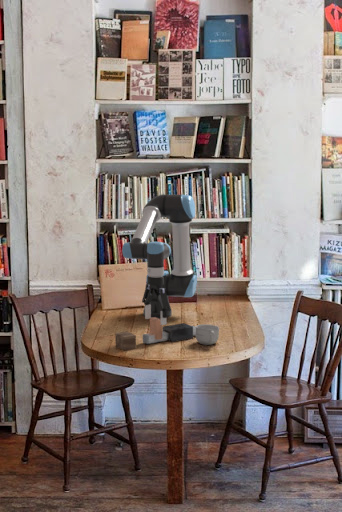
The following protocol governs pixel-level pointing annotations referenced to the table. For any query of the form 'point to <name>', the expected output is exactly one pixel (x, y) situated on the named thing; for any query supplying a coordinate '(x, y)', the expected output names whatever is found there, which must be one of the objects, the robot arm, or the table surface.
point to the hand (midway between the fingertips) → (155, 321)
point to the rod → (158, 332)
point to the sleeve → (179, 331)
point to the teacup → (207, 334)
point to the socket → (125, 340)
